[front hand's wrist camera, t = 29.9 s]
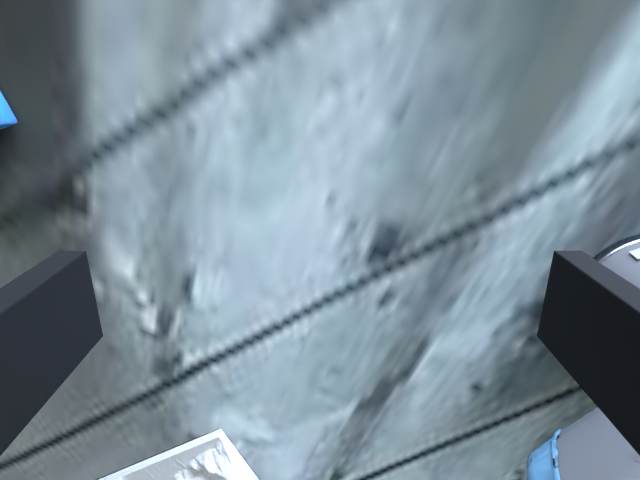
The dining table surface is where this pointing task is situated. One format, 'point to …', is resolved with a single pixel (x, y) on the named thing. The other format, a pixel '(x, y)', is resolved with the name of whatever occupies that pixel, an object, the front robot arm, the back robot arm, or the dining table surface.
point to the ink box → (6, 114)
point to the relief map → (192, 462)
